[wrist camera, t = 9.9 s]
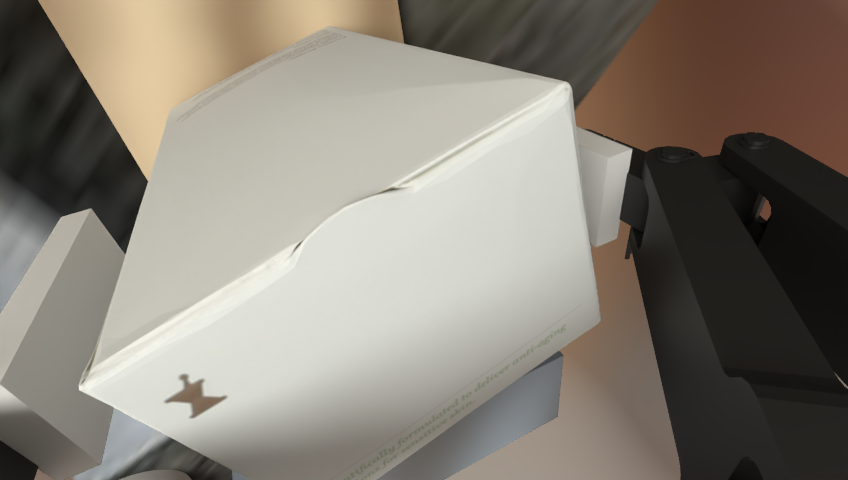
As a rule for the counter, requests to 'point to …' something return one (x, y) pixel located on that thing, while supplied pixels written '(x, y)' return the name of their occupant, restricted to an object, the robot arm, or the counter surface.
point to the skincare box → (347, 257)
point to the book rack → (221, 58)
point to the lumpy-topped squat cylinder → (159, 475)
